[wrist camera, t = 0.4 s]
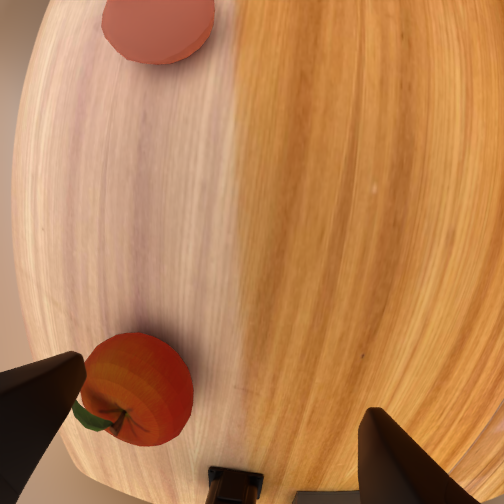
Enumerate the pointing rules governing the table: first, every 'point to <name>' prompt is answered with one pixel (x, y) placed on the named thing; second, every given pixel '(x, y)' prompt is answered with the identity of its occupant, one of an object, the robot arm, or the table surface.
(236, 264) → the table surface
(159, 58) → the pink vase
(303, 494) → the tray
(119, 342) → the fruit
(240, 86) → the table surface
